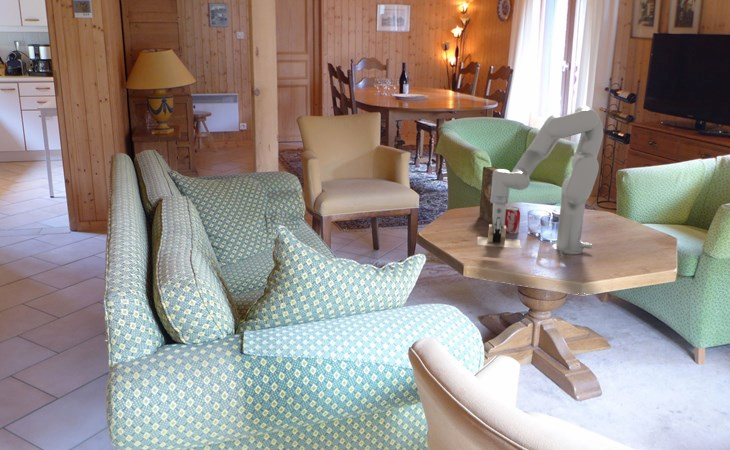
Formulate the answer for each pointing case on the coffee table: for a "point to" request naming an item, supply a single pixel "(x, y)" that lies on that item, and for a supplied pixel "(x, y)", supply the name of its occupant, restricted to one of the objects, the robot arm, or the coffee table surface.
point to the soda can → (512, 220)
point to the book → (487, 194)
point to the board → (508, 243)
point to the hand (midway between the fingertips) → (496, 240)
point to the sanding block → (491, 231)
